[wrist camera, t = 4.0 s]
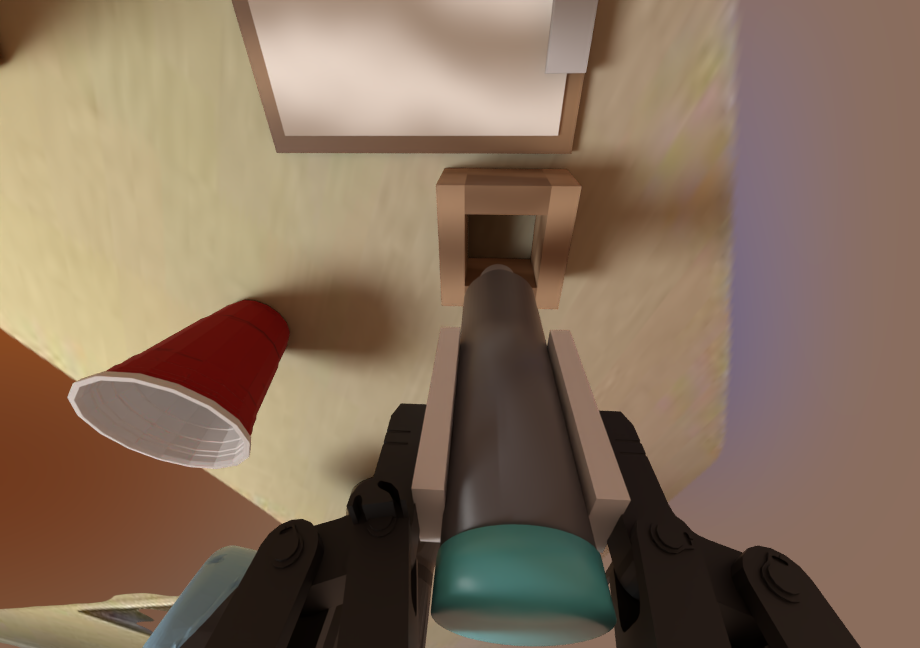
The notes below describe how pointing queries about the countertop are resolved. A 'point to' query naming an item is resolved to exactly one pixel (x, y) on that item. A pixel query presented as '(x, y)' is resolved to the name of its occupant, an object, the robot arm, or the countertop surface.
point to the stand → (506, 195)
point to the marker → (514, 488)
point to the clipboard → (419, 73)
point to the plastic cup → (190, 389)
